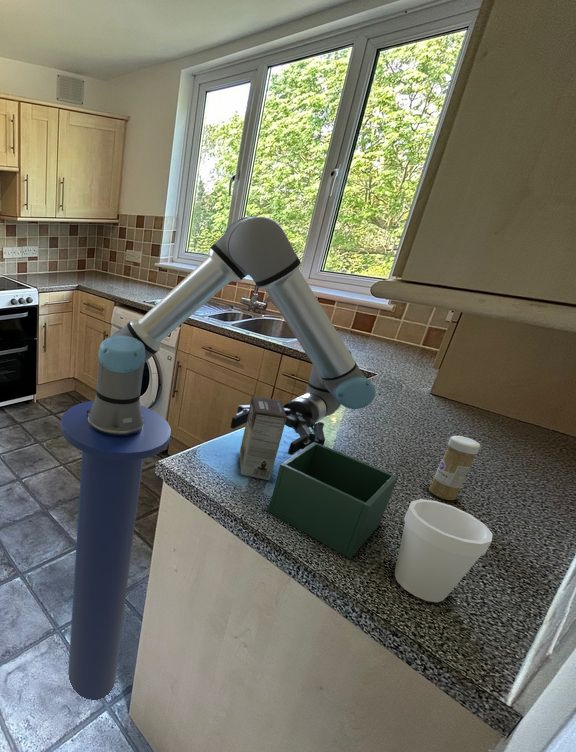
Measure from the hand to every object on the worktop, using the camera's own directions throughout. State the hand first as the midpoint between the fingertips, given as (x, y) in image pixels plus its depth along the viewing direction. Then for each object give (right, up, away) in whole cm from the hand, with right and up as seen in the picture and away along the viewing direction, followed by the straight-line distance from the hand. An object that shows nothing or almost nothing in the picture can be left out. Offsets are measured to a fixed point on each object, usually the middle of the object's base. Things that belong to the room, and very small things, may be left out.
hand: (260, 435), depth 91 cm
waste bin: (+6, -14, -12) cm, 20 cm away
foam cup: (+13, -20, -26) cm, 35 cm away
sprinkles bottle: (+38, -12, -3) cm, 40 cm away
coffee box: (0, -8, +4) cm, 9 cm away
